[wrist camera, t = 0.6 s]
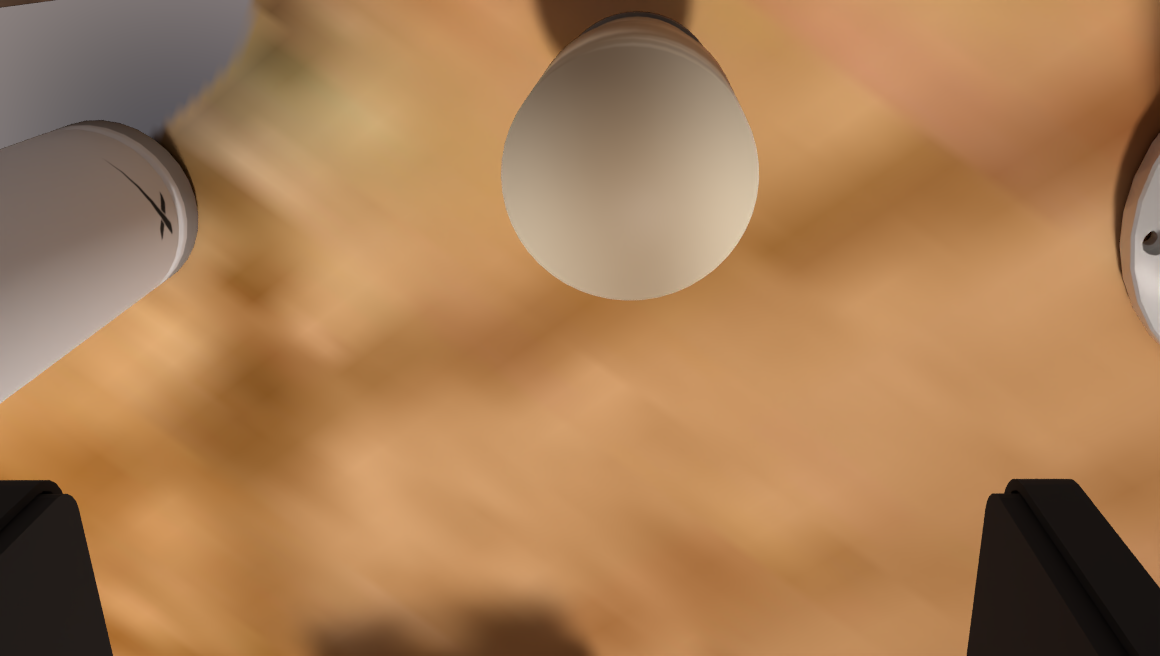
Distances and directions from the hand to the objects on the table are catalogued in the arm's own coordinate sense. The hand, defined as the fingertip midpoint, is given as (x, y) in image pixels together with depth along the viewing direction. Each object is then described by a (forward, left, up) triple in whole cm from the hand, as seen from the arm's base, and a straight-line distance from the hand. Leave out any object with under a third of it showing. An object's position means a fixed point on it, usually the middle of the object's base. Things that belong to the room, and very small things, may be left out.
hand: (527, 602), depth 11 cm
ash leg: (-1, -1, -27) cm, 27 cm away
